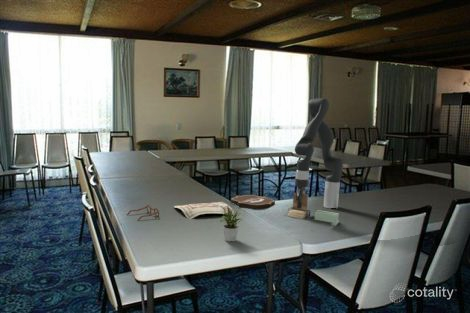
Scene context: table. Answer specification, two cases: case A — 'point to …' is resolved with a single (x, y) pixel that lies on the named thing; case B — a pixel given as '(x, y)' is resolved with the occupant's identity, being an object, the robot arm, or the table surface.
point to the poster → (203, 209)
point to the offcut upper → (297, 212)
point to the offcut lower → (296, 216)
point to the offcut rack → (308, 212)
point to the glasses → (148, 212)
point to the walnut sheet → (304, 202)
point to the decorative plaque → (253, 201)
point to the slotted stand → (327, 217)
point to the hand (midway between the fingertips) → (299, 207)
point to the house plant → (230, 225)
